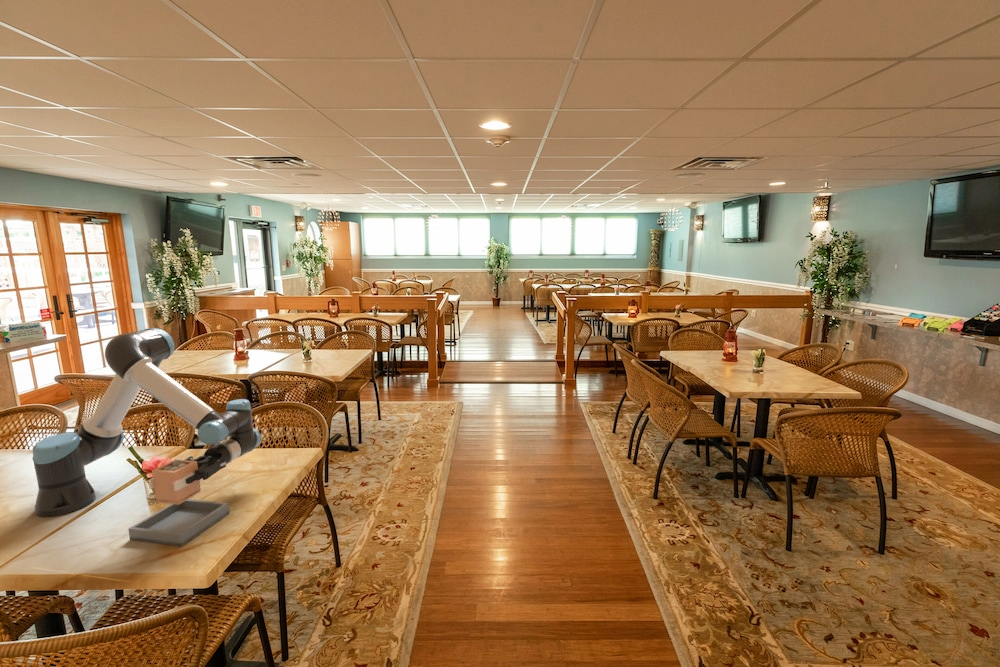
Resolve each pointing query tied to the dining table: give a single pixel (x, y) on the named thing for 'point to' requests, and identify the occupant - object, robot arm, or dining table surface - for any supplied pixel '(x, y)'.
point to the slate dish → (179, 522)
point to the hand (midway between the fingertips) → (162, 485)
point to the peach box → (170, 474)
